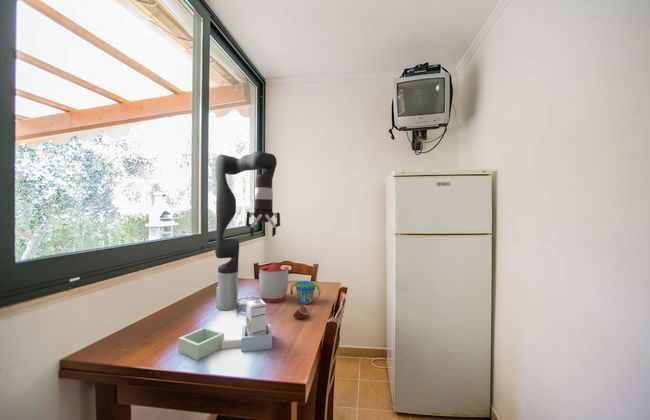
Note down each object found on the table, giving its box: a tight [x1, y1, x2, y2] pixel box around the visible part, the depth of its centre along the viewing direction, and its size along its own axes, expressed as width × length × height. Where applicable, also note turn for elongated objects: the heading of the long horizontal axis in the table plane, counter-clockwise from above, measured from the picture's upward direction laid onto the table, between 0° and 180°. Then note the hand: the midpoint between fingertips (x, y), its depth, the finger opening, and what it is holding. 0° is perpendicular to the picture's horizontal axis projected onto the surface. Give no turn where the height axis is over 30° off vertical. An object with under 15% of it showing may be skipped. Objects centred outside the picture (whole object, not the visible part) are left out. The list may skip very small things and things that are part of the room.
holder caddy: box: [177, 323, 273, 361], centre depth 93 cm, size 30×14×4 cm, turn 105°
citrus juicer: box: [258, 262, 290, 304], centre depth 145 cm, size 16×17×20 cm
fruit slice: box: [292, 304, 310, 320], centre depth 120 cm, size 8×7×5 cm
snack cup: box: [289, 280, 321, 305], centre depth 140 cm, size 16×11×10 cm
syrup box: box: [245, 298, 267, 336], centre depth 95 cm, size 6×6×14 cm
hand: (263, 236), depth 116 cm, fingers open, 8 cm apart
